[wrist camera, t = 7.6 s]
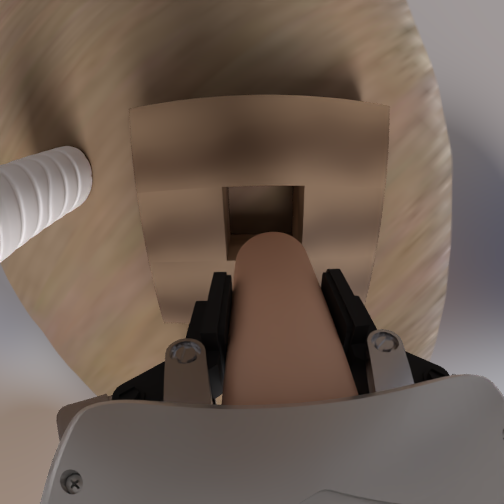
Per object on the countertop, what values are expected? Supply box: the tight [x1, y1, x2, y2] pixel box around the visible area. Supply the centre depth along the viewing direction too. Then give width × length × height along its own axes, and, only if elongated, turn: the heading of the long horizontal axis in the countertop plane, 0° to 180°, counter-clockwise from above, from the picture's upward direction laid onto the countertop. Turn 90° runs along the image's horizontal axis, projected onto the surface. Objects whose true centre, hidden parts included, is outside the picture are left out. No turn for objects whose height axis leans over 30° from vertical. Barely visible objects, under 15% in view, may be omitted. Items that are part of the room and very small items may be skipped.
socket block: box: [129, 95, 389, 324], centre depth 22 cm, size 18×18×5 cm
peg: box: [222, 232, 358, 405], centre depth 10 cm, size 4×4×12 cm
